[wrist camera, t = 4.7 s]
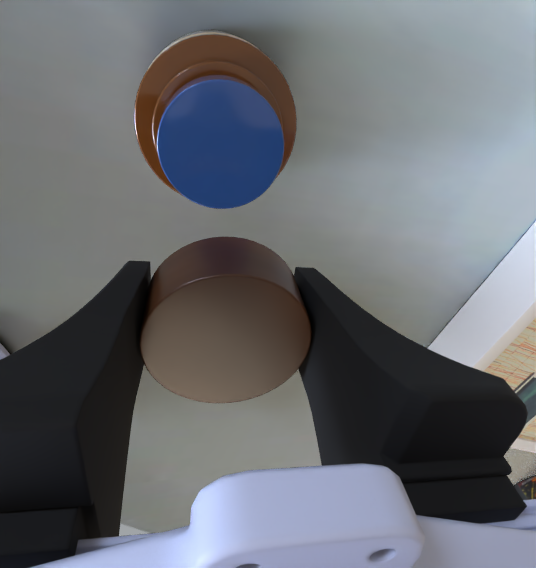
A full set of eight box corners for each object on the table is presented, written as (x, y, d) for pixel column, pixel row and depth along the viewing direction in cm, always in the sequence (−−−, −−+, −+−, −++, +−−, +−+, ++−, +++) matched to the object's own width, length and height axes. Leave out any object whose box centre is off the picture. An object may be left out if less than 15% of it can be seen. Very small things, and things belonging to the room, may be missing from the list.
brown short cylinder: (177, 370, 14) (175, 419, 12) (121, 260, 11) (108, 303, 9) (307, 336, 14) (322, 380, 12) (281, 217, 11) (296, 253, 9)
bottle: (173, 184, 20) (165, 255, 14) (122, 50, 17) (83, 70, 11) (289, 153, 20) (327, 210, 14) (262, 12, 17) (297, 11, 11)
